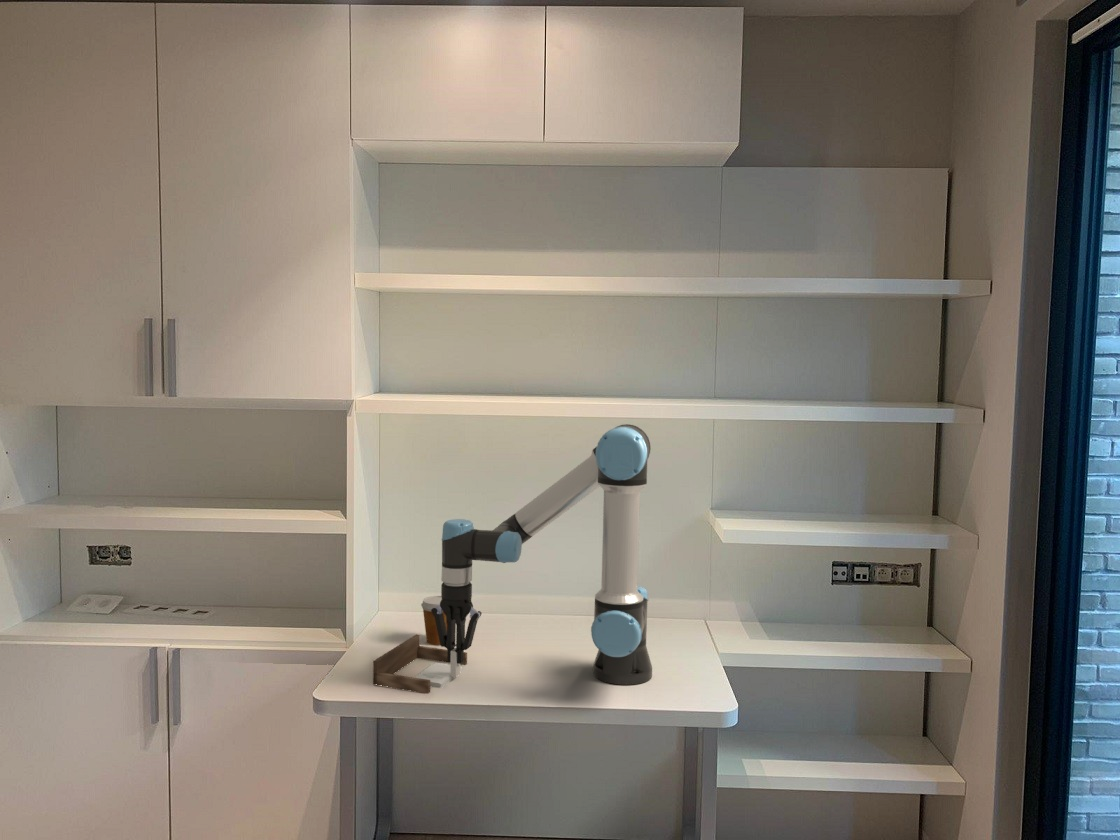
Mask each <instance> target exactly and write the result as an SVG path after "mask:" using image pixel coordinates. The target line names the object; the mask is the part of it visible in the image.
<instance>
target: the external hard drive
mask: <svg viewBox="0 0 1120 840" xmlns="http://www.w3.org/2000/svg"><path fill="white" fill-rule="evenodd" d="M461 672H463V666H461V665H460V673H461ZM414 678H420V679H427V680H430V687H431V686H432V688H438V689H439V688H440V689H442V688H443V687H444V686H445V685H447V684H448V683H449V682H450V681H452V680H453V679H454V678H455V677H450V664H446V663H442V662H440V663H439V662H433V663H432V664H430V665H429V666H428V667H426V668H425V669H423V670H422V671H421V672H420V673H418V674H416V676H414Z"/></svg>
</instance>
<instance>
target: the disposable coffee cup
mask: <svg viewBox="0 0 1120 840" xmlns="http://www.w3.org/2000/svg"><path fill="white" fill-rule="evenodd" d="M441 600H442V597H441V595H433V596H428V597H425V598H423V599H422V603H421V604H420V605H421V608H422V613H423V619H424V621H423V622H424V629H425V638H426V639H425V640H426V643H427V644H428V645H431V646H441V645H440V641H439V636H438V631H437V626H436V621H435V617H434V615H433V614H432V612H431V609H433V608H434V607H436V606H439V605H440V602H441ZM443 616H444V620H445V625H446V630H447V623H446V615H445V613H444V612H443Z"/></svg>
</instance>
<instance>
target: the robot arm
mask: <svg viewBox="0 0 1120 840" xmlns="http://www.w3.org/2000/svg"><path fill="white" fill-rule="evenodd" d="M650 454H651V441H650V439H649V436H648V435H647V433H646V432H645V431H644V430H643V429H642V428H640V427H639V426H636V425H634V424H630V423H629V424H620V425H617V426H615V427H613V428H612V429H611V428H610V429H609V430H607V431H606V432H605V433H603V434H602V436H601V437H600V438H599V440H598V442H597V445H596V446H595V447H594V448H592V450H591V455H590V456H589V457H587V458H586V459H585V460H583V461H582V462H580V464H578V465H577V466H575V467H574V468H573V469H571V470H570V471H568V472H567V473H566V474H565V475H563V476H562V477H560V478H559V479H558V480H557V481H556V482H554V483H553V484H552V485H550V486H549V487H548V488H546V489H545V490H544V491H542V493H540V494H538V495H537V496H536V497H534V498H533V499H532V500H531V501H529V502H528V503H526V504H525V505H524V506H523V507H521V508H520V509H518V510H517V511H516V512H515V513H513V514H512V515H510V516H509V517H508V518H507V519H505V520H503V521H502V522H501V523H500V524H498V526H497V527H495V528H494V529H492V530H491V529H489V530H488V529H486V530H485V529H476V528H474V523H473V521H471V520H470V519H465V518H454V519H448V520H446V521H444V523H443V525H442V535H441V582H442V583H441V591H440V592H441V593H440V594H441V595H440V596H441V597H442V600H441V602H440V605H439V606H436V607H434V608H433V609H431V612H432V614H433V615H434V617H435V621H436V626H437V631H438V636H439V641H440V645H439V646H440V647H442V648H444V649H446V650H447V651H448V652H447V660H448V662H450V663H449V665H450V677H454V678H457V677H458V676H459V675H460V674H461V672H460V666H461V665H462V664H461V663H462V662H463V660H464V651H467V650H468V649H469V648H471V647H472V645H473V644H472V643H473V641H474V636H475V632H476V628H477V623H478V620H479V619H480V618H481V616H482V611H480V610H478V611H477V610H476V609H475V607H474V605H473V602H472V597H473V595H472V594H473V584H472V581H473V561H481V562H482V561H483V562H494V563H495V562H496V563H502V564H506V563H517V562H518V561H519V559H520V557H521V556H522V555H521V554H522V550H523V548H522V547H523V546H522V545H523V544H525V543H526V542H527V541H529V540H530V539H531V538H533V536H535V535H536V534H538V533H540V532H541V531H542V530H543V529H544V528H546V527H547V526H549V525H550V524H551V523H553V522H554V521H555V520H557V519H558V518H560V517H561V516H562V515H564V514H565V513H566V512H567V511H569V510H571V509H572V508H573V507H574V506H575V505H577V504H578V503H580V502H581V501H583V499H585V498H586V497H588V496H589V495H591V494H592V493H593V492H595V491H596V490H597V489H598V488H599V487H600V488H602V490H603V507H602V508H603V509H602V510H603V511H602V515H603V516H602V544H601V545H602V549H601V551H602V554H601V586H600V587H601V589H600V590H598V591H597V592H596V593H595V594H594V615H593V618H594V619H593V622H592V623H591V627H590V633H591V634H590V635H591V639H592V642H593V645H594V646H595V647H596V648H597V649H598V651H597V653H596V656H595V659H594V661H593V667H592V674H593V676H594V677H595V678H596V679H598V680H600V681H602V682H605V683H609V684H613V685H621V686H624V685H626V686H628V685H640V684H643V683H646V682H648V681H650V680H651V679H652V677H653V664H652V662H651V657H650V654H649V651H648V648H647V628H648V627H647V624H648V601H649V598H648V595H649V594H648V590H647V589H646V588H645V587H644V586H640V585H638V581H639V580H638V579H639V578H638V576H639V575H638V574H639V573H638V572H639V570H638V569H639V539H640V538H639V536H640V507H641V506H640V504H641V503H640V502H641V501H640V500H641V491H642V490H643V489H644V488H645V487H646V486H647V485H648V479H647V478H648V460H649V457H650ZM443 612H444V613H445V615H446V623H447V630H446V625H445V620H444V616H443ZM468 615H469V622H468V625H467V628H466V621H467V616H468ZM448 662H447V663H448Z"/></svg>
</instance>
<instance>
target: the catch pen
mask: <svg viewBox="0 0 1120 840" xmlns="http://www.w3.org/2000/svg"><path fill="white" fill-rule="evenodd" d="M420 642H421V641H420V634H415V635H413V636H411V637H409V638H408V639H407V640H405V641H403V642H402V643H399V645H397V646H395V647H393V648H392V649H391V650H389V651H387V652H386V653H384V654H382V655H380V656H379V657H377V658H375V659H374V660H372V661H373V662H372V665H373V667H372V672H373V673H372V685H373V684H377V685H382V686H381V687H383V686H388V687H387V688H389V687H392V689H396V688H397V690H402V689H404V690H403V691H408V690H411V691H410V692H414V691H416V692H415V693H422V694H431V686H430V680H427V679H420V678H414V677H415V676H414V677H413V676H407V675H401V674H400V675H399V674H396V673H397V672H399V671H400V670H402V669H403V668H405V667H406V666H408V665H409V664H410V662H411V663H412V662H414V661H416V659H423V660H428V661H435V662H436V661H437V662H441V663H442V662H443V663H449V664H450V662H448V660H447V652H448V651H447V648H438V647H432V646H431V647H430V646H424V645H420V644H421V643H420ZM413 660H414V661H413ZM407 664H408V665H407ZM467 664H468V652H464V660H463V662H462V663H461V664H460V665H462V666H463V665H464V666H466V665H467ZM404 666H405V667H404ZM402 667H403V668H402ZM401 668H402V669H401ZM398 670H399V671H398ZM395 672H396V673H395ZM394 673H395V674H394ZM377 685H376V686H377Z"/></svg>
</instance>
